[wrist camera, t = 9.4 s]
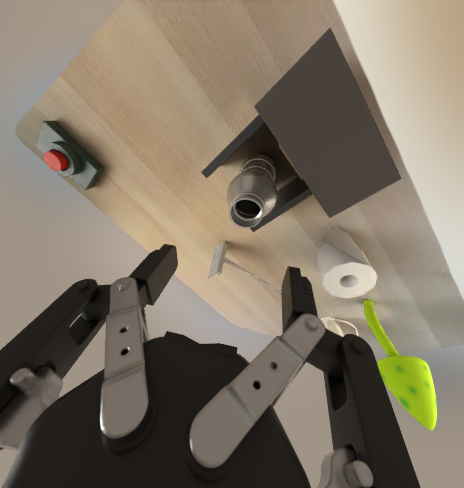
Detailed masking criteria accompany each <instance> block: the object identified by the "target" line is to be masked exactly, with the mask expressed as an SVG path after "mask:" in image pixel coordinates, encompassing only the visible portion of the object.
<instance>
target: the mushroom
mask: <svg viewBox="0 0 464 488" xmlns="http://www.w3.org/2000/svg"><path fill="white" fill-rule="evenodd" d="M364 312H365V317H366V320H367V322H368V324H369V326H370V328H371V330H372V332H373V333H374V335H375V337H376V338H377V340H378V341H379V343H380V344H381V346H382V347H383V349H384V350H385V352H386V353H387V355H388V356H389V357H387V358H384V359H382V360H380V361H378V362H377V365H378V368H379V371H380V374H381V376H382V379H383V382H384V383H385V385H386V386H387V387H388V389H389V390H390V391H391V392H392V393H393V395H394V396H395V397H396V399H397V400H398V401H399V402H400V403H401V404H402V406H403V407H404V408H405V409H406V410H407V411H408V412H409V413H410V414H411V415H412V416H413V417H414V418H415V419H416V420H417V421H418V422H419V423H421V424H422V425H423V426H425V427H426V428H428V429H429V430H431V431H432V430H433V428H434V427H435V424H436V419H437V405H436V396H435V391H434V385H433V381H432V377H431V373H430V370H429V367H428V365H427V363H426V362H425V361H423V360H421V359H419V358H416V357H411V356H400V354H399V353H398V352H397V350H396V349H395V347H394V346H393V344H392V343H391V341H390V340H389V338H388V337H387V335H386V333H385V332H384V330H383V328H382V326H381V324H380V322H379V320H378V318H377V316H376V313H375V310H374V307H373V303H372V300H369V299H367V300H365V301H364Z"/></svg>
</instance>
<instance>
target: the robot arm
mask: <svg viewBox="0 0 464 488" xmlns="http://www.w3.org/2000/svg"><path fill="white" fill-rule="evenodd" d="M177 265H178V260H177V251H176V246H173V245H168V244H164V245H163V246H162V247H161V248H160V249H159V250H155V251H153V252H151V253H150V254H149V255H148V256H147V257H146V259H144V260H143V261H142V263H141V264H140V265H139V266H138V267H137V268H136V269H135V270H134V271H133V272H132V274H131V275H130V276H129V277H124V278H121V279H118V280H117V281H115V282H114V283H113V284H111V285H98V284H97V282H96V281H95V280H93V279H85V280H81V281H78V282H76V283H75V284H73V285H72V286H71V287H70V288H69V289H67V291H65V292H64V293H63V294H62V295H61V296H60V297H59V298H58V299H56V300H55V301H54V302H53V303H52V304H51V305H50V306H49V307H48V308H46V309H45V310H44V311H43V312H42V313H41V314H40V315H39V316H38V317H37V318H35V319H34V320H33V321H32V322H31V323H30V324H29V325H28V326H27V327H26V328H24V329H23V330H22V331H21V332H20V333H19V334H18V335H17V336H16V337H15V338H13V339H12V340H11V341H10V342H9V343H8V344H7V345H6V346H5V347H3V348H2V349H1V350H0V450H2V449H4V448H7V449H11V450H16V451H18V452H17V454H16V457H15V460H14V462H13V465H12V467H11V469H10V471H9V474H8V476H7V478H6V480H5V482H4V483H3V485H2V487H1V488H311V487H310V484H309V481H308V478H307V475H306V473H305V471H304V469H303V467H302V465H301V463H300V460H299V458H298V457H297V454H296V453H295V450H294V448H293V446H292V445H291V442H290V441H289V438H288V437H287V434H286V433H285V431H284V428H283V426H282V424H281V422H280V420H279V418H278V416H277V414H276V412H275V410H274V408H273V407H274V406H275V404H276V403H277V402H278V400H279V399H280V397H281V396H282V395H283V393H284V391H285V390H286V389H287V388H288V386H289V385H290V383H291V382H292V381H293V379H294V378H295V377H296V375H297V374H298V373H299V371H300V370H301V369H302V367H303V366H304V364H305V363H306V362H308V363H310V364H311V365H313V366H315V367H317V368H318V369H320V370H322V371H323V372H324V379H325V388H326V395H327V403H328V411H329V419H330V426H331V433H332V441H333V450H334V451H333V452H331V453H330V454H328V455H326V456H325V457H324V459H323V461H322V465H321V479H320V483H319V485H318V487H317V488H420V485H419V482H418V479H417V477H416V474H415V471H414V468H413V465H412V462H411V460H410V456H409V454H408V451H407V448H406V445H405V442H404V439H403V437H402V434H401V431H400V428H399V425H398V422H397V419H396V417H395V414H394V411H393V408H392V405H391V402H390V400H389V396H388V394H387V391H386V388H385V385H384V382H383V379H382V376H381V374H380V371H379V368H378V365H377V362H376V359H375V356H374V354H373V351H372V349H371V347H370V346H369V344H368V343H367V342H366V341H365V340H363V339H362V338H360V337H359V336H357V335H354V334H346V335H345V336H344V337H342V336H340V335H338V334H336V333H334V332H332V331H330V330H328V329H327V328H326V327H325V326H324V324H323V322H322V321H321V320H320V319H319V318H318V315H317V310H316V305H315V300H314V297H313V291H312V286H311V283H310V281H309V280H308V279H307V277H302V276H301V272H300V268H295V267H290V266H288V267H287V270H286V273H285V277H284V280H283V283H282V323H283V334H282V335H281V336H280V337H279V336H277V337H276V338H275V339H274V340H273V341H272V342H271V343H270V344H269V345H268V346H267V347H266V348H265V349H264V350H263V351H262V352H261V353H260V354H259V355H258V356H257V357H256V358H255V359H254V360H253V361H252V362H251V363H249V362H248V361H247V360H246V359H245V358H243V357H242V356H241V355H239V354H237V347H233V346H229V345H224V344H220V343H217V344H199V343H197V342H195V341H193V340H191V339H190V338H188V337H186V336H184V335H181V334H177V333H172V332H168V331H167V332H166V334H165V336H164V337H158V338H154V339H151V340H149V335H148V329H147V323H146V316H145V310H144V308H145V306H146V305H147V304H148V305H154V303H155V302H156V300H157V299H158V297H159V296H160V294H161V292H162V291H163V289H164V288H165V286H166V285H167V283H168V282H169V280H170V278H171V277H172V275H173V274H174V272H175V271H176V269H177ZM80 314H81V316H80V317H79V318H78V319H77V320H76V321H75V322H74V323H73V325H72V326H71V327H70V325H71V324H72V322H73V321H74V320H75V319H76V318H77V317H78V316H79V315H80ZM105 322H106V339H105V340H106V341H105V369H103V370H102V371H100V372H98V373H97V374H95V375H94V376H92V377H91V378H89V379H88V380H86V381H85V382H83V383H82V384H80V385H79V386H77V387H76V388H74V389H72V390H71V391H69V392H68V393H66V394H65V395H64V396H62V397H60V398H59V393H60V391H61V389H62V384H63V383H62V379H63V378H64V376H65V375H66V374H67V372H68V371H69V370H70V368H71V367H72V366H73V364H74V363H75V362H76V360H77V359H78V358H79V356H80V355H81V354H82V352H83V351H84V350H85V348H86V347H87V346H88V344H89V343H90V342H91V340H92V339H93V338H94V336H95V335H96V334H97V332H98V331H99V330H100V328H101V327H102V326H103V324H104V323H105ZM69 327H70V328H69ZM58 398H59V399H58Z"/></svg>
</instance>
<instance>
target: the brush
mask: <svg viewBox="0 0 464 488" xmlns="http://www.w3.org/2000/svg"><path fill="white" fill-rule="evenodd" d="M226 248H227V242H225V241H223V242H222V243H221V244H220V245H219V246H218V247H216V248H215V249H216V250H215V253H214V256H213V259H212V260H213V261H212V264H211V268H210V271H209V272H210V273H209V275H208V276H209V277H208V278H210V277H211V276H213V275H214V274H218V275H221V273H222V268H223V263H224V261H225V262H226V263H228V264H230V265H232V266H233V267H235V268H238V269H240V270H241V271H243V272H245V273H246V274H248V275H250V276H252V277H253V278H255V279H257V280H258V281H260V282H262V283H264V284H265V285H267V286H269V287H270V288H272V289H274V290H276V291H277V292H279V293H281V294H282V291H280V290H278V289H277V288H275V287H273V286H272V285H270V284H268V283H267V282H265V281H263V280H261V279H260V278H258V277H256V276H255V275H253V274H251V273H250V272H248V271H246V270H245V269H243V268H241V267H240V266H238V265H237V264H235V263H233V262H232V261H230V260H228V259H227V258H225V253H226Z"/></svg>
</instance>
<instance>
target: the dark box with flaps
mask: <svg viewBox="0 0 464 488" xmlns="http://www.w3.org/2000/svg"><path fill="white" fill-rule="evenodd" d="M254 107H255V108H256V110H257V111H258V113H259V115H258V116H257V117H256V118H255V119H254V120H253V121H252V122H251V123H250V124H249V125H248V126H247V127H246V128H245V129H244V130H243V131H242V132H241V133H240V134H239V135H238V136H237V137H236V138H235V139H234V140H233V141H232V142H231V143H230V144H229V145H228V146H227V147H226V148H225V149H224V150H223V151H222V152H221V153H220V154H219V155H218V156H217V157H216V158H215V159H214V160H213V161H212V162H211V163H210V164H209V165H208V166H207V167H206V168H205V169H204V170H203V171H202V174H203V175H204V176H205V177H206V178H207V177H209V176H210V175H211V174H212V173H213V172H214V171H215V170H216V169H217V168H218V167H220V166H221V165H222V164H223V163H224V162H225V161H226V160H227V159H228V158H229V157H230V156H231V155H232V154H233V153H234V152H235V151H236V150H237V149H238V148H240V147H241V146H242V145H243V144H244V143H245V142H246V141H247V140H248V139H249V138H250V137H251V136H252V135H253V134H254V133H255V132H256V131H257V130H258V129H259V128H260V127H262V126H263V125H264V124H265V123H266V125H267V126H268V128H269V129H270V131H271V132H272V134H273V135H274V137H275V138H276V140H277V141H278V143H279V147H280V149H281V150H282V152H283V153H284V155H285V156H286V158H287V159H288V161H289V162H290V164H291V165H292V166H293V168H294V169H295V171H296V172H297V174H298V175H299V176H298V177H296V178H295V179H294V180H292V181H291V182H289V183H288V184H287V185H285V186H284V187H282V188H281V189H280V190H278V191H277V201H276V204H275V206H274V207H273V209H272V210H271V211H270V212H269V213H268V214H267V215H266V216H264V217H262V220H261V221H260V222H259V223H258V224H257V225H256V226H254V227H251V228H250V229H251V230H252V231H253V232H254V231H256V230H257V229H259V228H261V227H262V226H264V225H265V224H267V223H268V222H270V221H272V220H273V219H275V218H276V217H278V216H279V215H281V214H283V213H284V212H286V211H287V210H289V209H290V208H292V207H294V206H295V205H297V204H298V203H300V202H301V201H303V200H304V199H306V198H308V197H309V196H311V195H312V194H314V196H315V197H316V199H317V200H318V202H319V203H320V205H321V206H322V208H323V209H324V211H325V212H326V214H327V215H328V217H329V218H331V217H333V216H335V215H336V214H338V213H340V212H342V211H344V210H345V209H347V208H349V207H351V206H353V205H355V204H356V203H358V202H360V201H362V200H364V199H365V198H367V197H369V196H371V195H373V194H375V193H376V192H378V191H380V190H382V189H384V188H386V187H387V186H389V185H391V184H393V183H395V182H396V181H398V180H400V179H401V176H400V174H399V172H398V170H397V168H396V166H395V164H394V161H393V159H392V157H391V155H390V153H389V151H388V149H387V147H386V144H385V142H384V140H383V138H382V136H381V134H380V132H379V130H378V128H377V125H376V123H375V121H374V119H373V117H372V115H371V113H370V111H369V108H368V106H367V104H366V102H365V100H364V98H363V96H362V94H361V91H360V89H359V87H358V85H357V83H356V81H355V79H354V77H353V74H352V72H351V70H350V68H349V66H348V64H347V62H346V60H345V57H344V55H343V53H342V51H341V49H340V47H339V45H338V43H337V40H336V38H335V36H334V34H333V32H332V30H331V28H329V29H328V30H327V31H326V32H325V33H324V34H323V36H322V37H321V38H320V39H319V40H318V41H317V42H316V43H315V44H314V45H313V46H312V47H311V48H310V49H309V50H308V51H307V52H306V53H305V54H304V55H303V56H302V57H301V58H300V59H299V60H298V62H297V63H296V64H295V65H294V66H293V67H292V68H291V69H290V70H289V71H288V72H287V73H286V74H285V75H284V76H283V77H282V78H281V79H280V80H279V81H278V82H277V83H276V84H275V85H274V86H273V87H272V89H271V90H270V91H269V92H268V93H267V94H266V95H265V96H264V97H263V98H262V99H261V100H260V101H259V102H258V103H257V104H256V105H255V106H254Z"/></svg>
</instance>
